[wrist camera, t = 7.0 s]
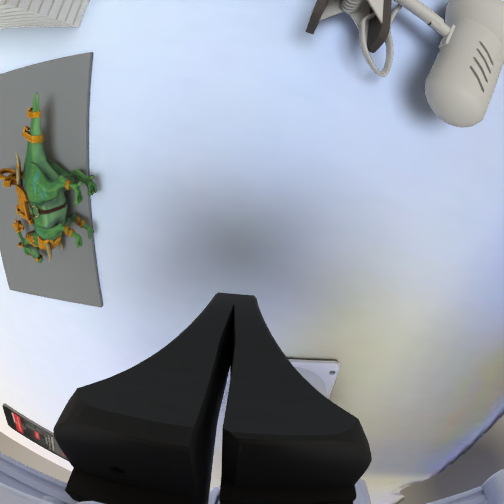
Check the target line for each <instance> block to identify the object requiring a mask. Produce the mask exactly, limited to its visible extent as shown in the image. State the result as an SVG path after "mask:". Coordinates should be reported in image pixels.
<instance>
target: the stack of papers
mask: <svg viewBox="0 0 504 504" xmlns="http://www.w3.org/2000/svg"><path fill="white" fill-rule="evenodd" d="M89 1H90V0H0V29H6V28H22V27H79V26H80V24H81V21H82V18H83V16H84V13H85V11H86V8H87V6H88V3H89Z"/></svg>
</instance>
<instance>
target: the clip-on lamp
mask: <svg viewBox="0 0 504 504" xmlns="http://www.w3.org/2000/svg"><path fill="white" fill-rule="evenodd" d="M394 1H396V2H397V3H398V4H397V6H396V7H395V8H394V10H393V11H392V12H391V0H317V2H316V5H315V7H314V10H313V12H312V15H311V18H310V21H309V24H308V26H307V29H306V32H308V33H311V34H314V31H315V29H316V27H317V25H318V23H319V21H321V20H323V19H326V18H329V17H331V16H334V15H336V14H339V13H342V12H345V13H347V14H350V16H351V18H352V19H353V21H354V23H355V24H356V26H357V28H358V30H359V38H360V46H361V50H362V52H363V55H364V57H365V59H366V61H367V63H368V64H369V66H370V67H371V69H372V70H373V71H374V72H375V73H377V74H378V75H380V76H382V77H385V76H387V74H388V73H389V71H390V68H391V64H392V60H393V41H392V37H391V32H390V30H391V24H392V22H393V19H394V18H395V16H396V14H397V13H398V11H399V10H400V9H401V8H402V6H403V7H404V8H406V9H407V10H409V11H410V12H412V13H413V14H414V15H416V16H417V17H418V18H420V19H421V20H422V21H424V22H425V23H426V24H428V25H429V26H430V27H432V28H433V29H434V30H435V31H437V32H438V33H439V34H440V35H442V36H443V37H442V40H441V42H440V44H439V46H438V47H439V48H440V51H439V53H438V55H437V57H436V59H435V62H434V64H433V66H432V68H431V70H430V72H429V74H428V77H427V79H426V81H425V95H426V98H427V101H428V104H429V106H430V107H431V109H432V110H433V112H434V113H435V114H436V115H437V116H438V117H439V118H440V119H441V120H443V121H444V122H446V123H448V124H450V125H453V126H456V127H470V126H473V125H475V124H477V123H479V122H481V121H482V120H483V118H484V116H485V113H486V111H487V108H488V105H489V103H490V100H491V97H492V94H493V92H494V89H495V86H496V83H497V80H498V77H499V74H500V71H501V68H502V65H503V63H504V2H503V1H502V0H450V1H449V2H448V4H447V6H446V11H445V23H446V24H445V23H444V19H442V18H441V17H440V16H439V15H437V14H436V13H435V12H433V11H432V10H431V9H429V8H428V7H427V6H425V5H424V4H423V3H421V2H420V1H419V0H394ZM384 42H385V43H386V61H385V65H384V68H383V70H382V71H381V72H379V71H378V69H377V68H376V66H375V65H374V63H373V61H372V59H371V57H370V54H369V52H372V53H374V52H376V51H377V49H378V48H379V47H380V46H381V45H382V44H383V43H384Z"/></svg>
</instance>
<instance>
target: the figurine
mask: <svg viewBox="0 0 504 504" xmlns="http://www.w3.org/2000/svg"><path fill="white" fill-rule="evenodd" d="M31 110H32V111H31ZM27 117H29V118H32V120H31V126H30V127H28V126H25V127H24V130H23V132H22V136H23V137H26V138H25V139H26V140H28V146H27V153H26V157H25V162H24V170H23V171H21V163H20V159H19V156H18V155H17V153H16V158H17V170H16V172H15V170H13V169H10V168H3V169H1V170H0V179H2V180H4V181H3V186H4V187H9V188H10V187H11V185H15V186H16V192H17V194H18V203H19V205H17V206H15V207H16V211H17V215H19V214H20V215H21V217H22V218H24V219H25V220H27V221H28V222H29V224H30V225H33V227H34V229H35V230H33V231H30V232H27V234H26V236H25V239H24V238H23V237H22V234H21V230H24V225H23V224H22V223H21V221H20V220H18V221H17V218H16V219H15V223H13V227H14V229H15V230H16V233H17V234H18V236H19V238H20V240H21V242H19V243H18V247H23V250H24V253H25V254H26V255H28V256H32V257H33V258H34V259H35V261H36V262H38V263H42V261H43V255H42V254H40V253H39V248H40V249H44V250H47V253H48V256H49V262H50V260H51V257H52V249H54V248H55V247H56V246H57V245H59V246H60V247H61V251H62V249H63V243H62V241H61V234H62V231H64V232H65V234H66V235H69V237H74V238H75V239H76V247H77V248H78V247H79V246H80V247H82V245H83V242H82V238H81V236H80V235H79V234H77V233H76V232H75V230H74V229H73V228H71V227H69V225H70V224H71V223H72V222H75V223H76V225H78V226H80V228H85V229H87V231H88V238H89V239H90V238H91V233H92V234H93V233H94V231H93V230H92V228H91V227H90V226H88V225H87V224H86V222H85V221H84V220H83V219H81V218H80V217H79V216H75V214H74V213H72V214H71V215H69V216H66V213H67V207H68V205H67V201H66V198H65V195H64V192H66V191H68V190H74V191H75V201H74V204H75V205H77V204H80V203H81V201H82V200H83V196H82V194H81V189H80V188H79V186H81V185H82V183H84V184H85V185H86V186H87V187H88V196H90V195H93V194H94V192H95V193H96V192H97V188H96V184H95V183H94V182H93V181H92V179H94V176H93V175H92V176H90V177H87V176H86V175H84V174H83V173H82V172H81V171H79V170H78V169H77V168H76V169H75V170H73V171H72V172H71V174H70V173H68V172H67V171H65V170H64V169H63V168H61V167H60V166H59V165H57V164H56V163H54V162H52V161H50V160H48V159H47V157H46V154H45V152H44V147H43V141H44V137H43V133H42V131H41V118H40V117H41V112H40V108H39V95H38V93H37V92H36V93H35V96H34V99H33V107H31V108H28V112H27ZM27 130H30V132H29V131H27ZM5 173H11V174H9V175H8V176H4V175H2V174H5ZM77 180H80V181H81V182H82V183H81V182H79V183H77V184H75V183H76V181H77ZM21 244H22V245H21Z"/></svg>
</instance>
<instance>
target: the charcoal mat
mask: <svg viewBox="0 0 504 504" xmlns="http://www.w3.org/2000/svg"><path fill="white" fill-rule="evenodd" d="M92 58H93V53H92V52H89V53H84V54H78V55H73V56H68V57H63V58H59V59H54V60H50V61H46V62H42V63H38V64H34V65H30V66H26V67H23V68H19V69H16V70H13V71H9V72H6V73H3V74H0V170H1V169H3V168H10V169H13V170H15V172H16V170H17V158H16V153H17V155H18V156H19V159H20V163H21V171H23V170H24V162H25V157H26V153H27V146H28V140H26V139H25V138H26V137H23V136H22V132H23V130H24V127H25V126H28V127H30V126H31V120H32V118H29V117H27V112H28V108H31V107H33V99H34V96H35V93H36V92H37V93H38V95H39V108H40V112H41V117H40V118H41V131H42V133H43V137H44V141H43V147H44V152H45V154H46V157H47V159H48V160H50V161H52V162H54V163H56V164H57V165H59V166H60V167H61V168H63V169H64V170H65V171H67V172H68V173H70V174H71V172H72V171H73V170H75V169H76V168H77V169H78V170H79V171H81V172H82V173H83V174H84V175H86V176H87V177H89V154H88V129H89V98H90V81H91V69H92ZM31 111H32V110H31ZM27 131H29V132H30V130H27ZM9 174H11V173H5V174H2V175H4V176H8V175H9ZM3 181H4V180H2V179H0V251H1V256H2V260H3V265H4V269H5V273H6V277H7V281H8V285H9V288H10V290H14V291H18V292H23V293H28V294H33V295H37V296H42V297H47V298H52V299H58V300H63V301H68V302H74V303H79V304H85V305H91V306H97V307H102V306H103V302H102V296H101V290H100V284H99V277H98V270H97V263H96V255H95V247H94V237H93V234H92V233H91V238H90V239H89V238H88V231H87V229H85V228H80V226H78V225H76V223H75V222H72V223H71V224H70V225H69V227H71V228H73V229H74V230H75V232H76V233H77V234H79V235H80V236H81V238H82V242H83V245H82V247H80V246H79V247H78V248H77V247H76V239H75V238H74V237H69V235H66V234H65V232H64V231H62V234H61V241H62V243H63V249H62V251H61V247H60V246H59V245H57V246H56V247H55V248H54V249H52V257H51V260H50V262H49V256H48V253H47V250H44V249H40V248H39V253H40V254H42V255H43V261H42V263H38V262H36V261H35V259H34V258H33V257H32V256H28V255H26V254H25V253H24V250H23V247H18V243H19V242H21V240H20V238H19V236H18V234H17V233H16V230H15V229H14V227H13V223H15V219H16V218H17V221H18V220H20V221H21V223H22V224H23V225H24V230H21V234H22V237H23V238H24V239H25V236H26V234H27V232H30V231H33V230H35V229H34V227H33V225H30V224H29V222H28V221H27V220H25V219H24V218H22V217H21V215H20V214H19V215H17V211H16V207H15V206H17V205H19V203H18V194H17V192H16V186H15V185H11V187H10V188H9V187H4V186H3ZM79 182H81V181H80V180H77V181H76V183H75V184H77V183H79ZM81 183H82V182H81ZM79 188H80V189H81V194H82V196H83V200H82V201H81V203H80V204H77V205H75V204H74V201H75V191H74V190H68V191H66V192H64V195H65V198H66V201H67V205H68V207H67V213H66V216H69V215H71V214H72V213H74V214H75V216H79V217H80V218H81V219H83V220H84V221H85V222H86V224H87V225H88V226H90V227H91V228H92V230H93V227H92V216H91V203H90V196H88V187H87V186H86V185H85V184H84V183H82V185H81V186H79ZM21 245H22V244H21Z"/></svg>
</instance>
